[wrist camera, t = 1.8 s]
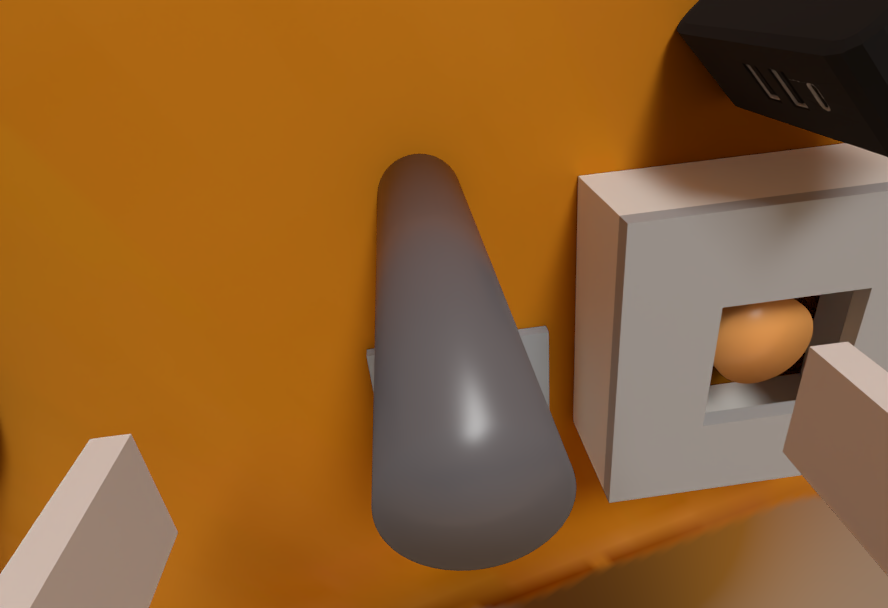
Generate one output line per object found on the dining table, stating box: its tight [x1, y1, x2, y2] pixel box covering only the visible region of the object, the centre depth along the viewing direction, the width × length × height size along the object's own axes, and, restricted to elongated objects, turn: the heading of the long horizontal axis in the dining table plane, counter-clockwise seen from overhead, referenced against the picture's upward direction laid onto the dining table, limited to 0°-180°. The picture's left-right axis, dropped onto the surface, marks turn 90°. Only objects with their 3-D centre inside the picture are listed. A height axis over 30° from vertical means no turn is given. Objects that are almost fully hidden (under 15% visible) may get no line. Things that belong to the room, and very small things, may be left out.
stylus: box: [372, 154, 576, 571], centre depth 17 cm, size 4×4×17 cm
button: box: [713, 298, 813, 384], centre depth 26 cm, size 4×4×2 cm
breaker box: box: [573, 143, 888, 503], centre depth 26 cm, size 14×14×6 cm
